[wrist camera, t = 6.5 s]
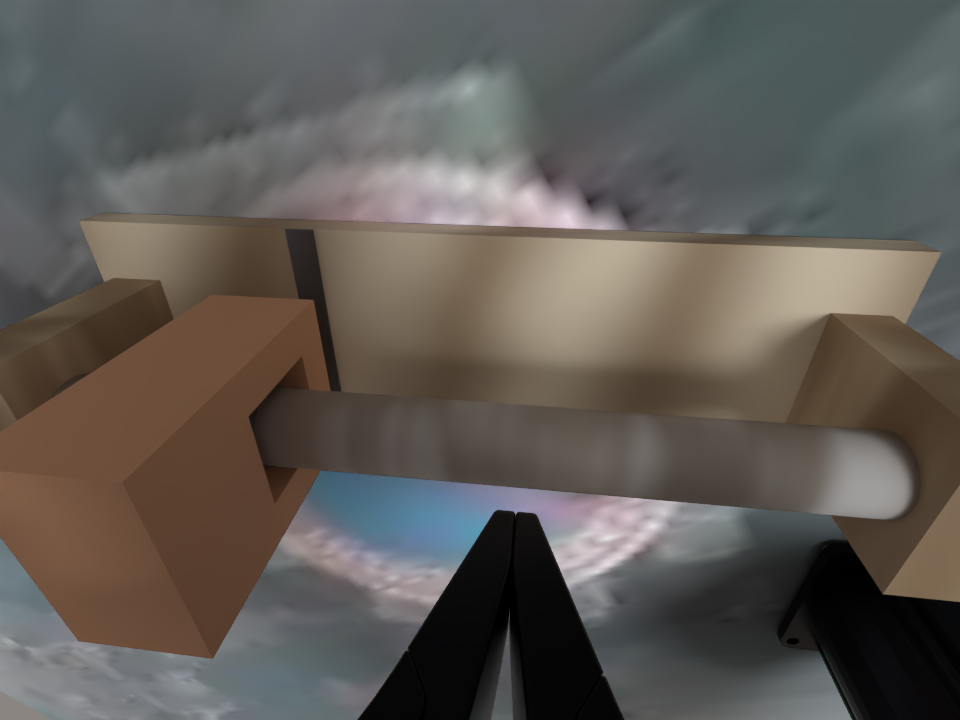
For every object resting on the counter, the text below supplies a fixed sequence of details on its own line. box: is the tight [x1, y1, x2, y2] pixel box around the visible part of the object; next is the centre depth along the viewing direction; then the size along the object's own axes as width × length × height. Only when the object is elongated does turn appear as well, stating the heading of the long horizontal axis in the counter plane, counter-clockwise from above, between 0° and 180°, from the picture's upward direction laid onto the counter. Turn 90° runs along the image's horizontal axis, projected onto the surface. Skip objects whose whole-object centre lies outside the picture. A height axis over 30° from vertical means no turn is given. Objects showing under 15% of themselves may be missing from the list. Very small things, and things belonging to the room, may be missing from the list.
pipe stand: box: [0, 213, 960, 602], centre depth 13 cm, size 24×8×6 cm, turn 90°
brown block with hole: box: [0, 295, 331, 659], centre depth 12 cm, size 3×5×7 cm, turn 0°
